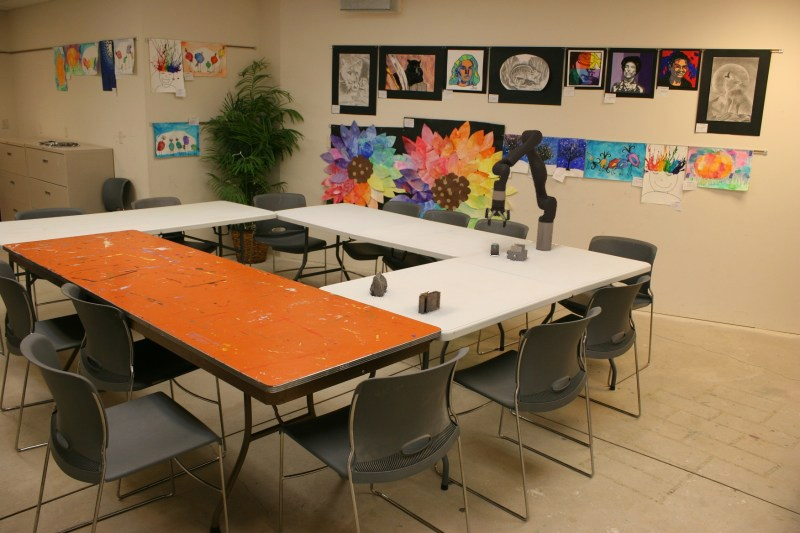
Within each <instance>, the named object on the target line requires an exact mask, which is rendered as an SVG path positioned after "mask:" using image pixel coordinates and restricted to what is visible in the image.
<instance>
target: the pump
mask: <svg viewBox="0 0 800 533" xmlns="http://www.w3.org/2000/svg"><path fill="white" fill-rule="evenodd" d="M499 253H500V245H499V244H498V243H496V242H495V243H493V242H492V244H491V245H490V254H491V255H499V256H500V254H499ZM491 255H490V256H491Z"/></svg>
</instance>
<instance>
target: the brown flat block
mask: <svg viewBox="0 0 800 533" xmlns="http://www.w3.org/2000/svg"><path fill="white" fill-rule="evenodd" d="M441 294H442V293H441V291H438V290H433V291H429V290H428V291H426V292H423V293H420V294H419V295H418V309H417V310H418V314H421V315H424V314H428V313H430V312H434V311H437V310H440V308H441V307H440V306H441ZM424 312H425V313H424Z"/></svg>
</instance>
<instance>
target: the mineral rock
mask: <svg viewBox="0 0 800 533" xmlns="http://www.w3.org/2000/svg"><path fill="white" fill-rule="evenodd" d="M369 287H370V288H369V291H370V295H371V296H374V297H382V296H384V295H385V294H384V293H385V291H387V289H388V281H387V278H386V277H385V276H384V275H383V274H382V272H381V271H378V273H376V274H375V275H374V276H373V277H372V282H371V285H370V286H369Z"/></svg>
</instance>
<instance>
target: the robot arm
mask: <svg viewBox="0 0 800 533" xmlns="http://www.w3.org/2000/svg"><path fill="white" fill-rule="evenodd" d="M542 141H543V133H542V131H540V130H539V129H538V130H537V129H527V130H524V131H523V132H522V133H521V143H522V144H521V145H518V146H517V147H515V148H513V149H512V150H510V151H509V153H508V154H506V155H505V157H503V158H501V159H499V160H497V162H495V163H494V164H493V165H492V168H491V173H492V174H493V175H494V176H497V177H499V179H497V180H494V182H493V189H492V195H491V207H486V208H485V213H484V219H486V220H487V226H488V227H491V224H492V218H493V217H501V219H502V220H503V221H502V228H505V227H507V221H508V222H509V220H511V209H506V196H507V195H506V189H507V182H508V180H509V177H510V174H511V168H512V167H514V166H515V165H516V164H517V163H518V162H519V161H520V160H521V159H522V158H523V157H524V156H526V158H527V162H528V165H529V168H530V169H529V170H530V175H531V177H532V181H533V187H534V191H535V197H536V204H537V207H538V209H540V210H542V211H543V214H542V215H540V216H538V220H537V222H538V223H537V230H536V231H537V233H536V243H535V249H536V250H538V251H545V250H548V251H551V250H552V240H553V231H554V221H555V218H556V214H557V209H558V201H557V199H556V197H555V196H552V195H548V193H547V189H546V183H547V180H548V169H547V167H546V162H544V160H543V158H541V156H540V155H539V154H538V153H537V151H536V147H538V146H539V145H540V144H541V143H542ZM490 212H491V213H490ZM489 213H490V215H489ZM505 214H506V215H505Z"/></svg>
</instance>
